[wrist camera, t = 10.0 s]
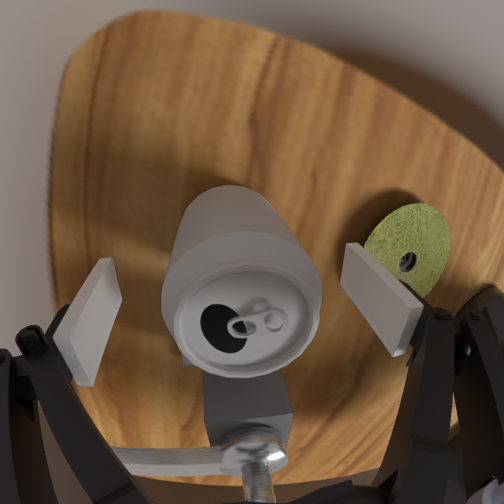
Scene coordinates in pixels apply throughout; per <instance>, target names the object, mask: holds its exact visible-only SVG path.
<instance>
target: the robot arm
mask: <svg viewBox="0 0 504 504" xmlns="http://www.w3.org/2000/svg"><path fill="white" fill-rule="evenodd" d="M340 285H341V286H342V288H343V289H344V290H345V292H346V293H347V294H348V296H349V297H350V298H351V300H352V301H353V303H354V304H355V305H356V307H357V308H358V309H359V311H360V312H361V313H362V315H363V316H364V318H365V319H366V320H367V322H368V323H369V324H370V326H371V327H372V329H373V330H374V331H375V333H376V334H377V336H378V337H379V338H380V340H381V341H382V343H383V344H384V345H385V347H386V348H387V350H388V351H389V353H390V354H391V356H392V357H395V356H399V355H402V354H405V353H406V351H407V349H408V346H409V344H410V345H411V346H412V347H413V351H412V354H411V356H410V358H409V360H408V362H407V364H406V366H408V365H409V368H408V373H407V377H406V382H405V386H404V391H403V395H402V399H401V403H400V407H399V410H398V414H397V418H396V421H395V425H394V428H393V431H392V434H391V438H390V441H389V444H388V447H387V450H386V453H385V455H384V458H383V461H382V464H381V466H380V469H379V471H378V473H377V475H376V477H375V478H374V480H373V481H372V483H371V485H370V486H364V485H363V486H362V485H353V484H352V481H351V480H348V481H345V482H341V483H338V484H335V485H331V486H327V487H323V488H320V489H318V490H316V491H314V492H311V493H309V494H307V495H305V496H303V497H301V498H299V499H296V500H294V501H292V502H289V503H284V504H504V293H503V292H502V291H501V290H500V289H498V288H497V287H489V288H487V289H485V290H483V291H481V292H480V293H478V294H477V295H476V296H475V297H474V298H472V299H471V300H470V301H469V302H468V303H467V304H466V305H465V307H464V308H463V309H462V310H461V311H460V312H459V314H458V315H457V316H456V317H452V315H451V314H450V312H448V311H447V310H445V309H443V308H438V307H434V308H432V307H431V306H430V305H429V304H428V303H427V302H426V301H425V300H424V299H423V298H422V297H421V296H420V295H418V293H417V292H416V291H415V290H413V288H412V287H411V286H409V285H408V284H407V283H405V282H403V281H402V280H400V279H399V280H397V279H396V278H395V277H394V276H393V275H392V274H391V273H390V272H389V271H388V270H387V269H386V268H385V267H384V266H383V265H382V264H380V263H379V262H378V261H377V260H376V259H375V258H374V257H373V256H372V255H371V254H370V253H368V252H367V251H366V250H365V249H364V248H363V247H362V246H361V245H360V244H358V243H346V248H345V255H344V261H343V268H342V274H341V280H340ZM121 302H122V296H121V292H120V288H119V284H118V280H117V276H116V271H115V267H114V263H113V258H112V257H111V258H100V259H99V261H98V262H97V264H96V265H95V267H94V268H93V270H92V271H91V273H90V274H89V276H88V277H87V279H86V281H85V282H84V284H83V285H82V287H81V289H80V290H79V292H78V293H77V295H76V297H75V298H74V300H73V302H72V303H71V304H66V305H65V306H63V307H62V308H61V309H60V310H59V311H58V313H57V314H56V316H55V319H53V321H52V323H51V324H50V326H49V328H48V330H47V331H46V333H45V335H44V333H43V331H42V329H41V328H40V327H39V326H37V325H30V326H27V327H25V328H23V329H22V330H20V332H19V333H18V334H17V336H16V339H15V341H16V344H17V346H18V347H19V349H20V351H21V353H22V355H21V356H16V357H12V355H11V354H10V352H9V351H8V350H7V349H0V504H58V501H57V498H56V494H55V491H54V487H53V484H52V480H51V477H50V472H49V468H48V464H47V460H46V455H45V450H44V445H43V440H42V433H41V427H40V420H39V412H38V403H37V400H39V402H40V405H41V407H42V410H43V412H44V415H45V417H46V419H47V422H48V424H49V426H50V428H51V430H52V433H53V435H54V437H55V439H56V441H57V443H58V445H59V447H60V449H61V451H62V452H63V454H64V456H65V458H66V460H67V462H68V463H69V465H70V467H71V469H72V470H73V472H74V474H75V476H76V477H77V479H78V480H79V482H80V484H81V485H82V487H83V488H84V490H85V491H86V493H87V494H88V496H89V497H90V499H91V501H92V502H93V504H157V503H156V502H155V501H154V500H153V499H152V497H151V496H150V495H149V494H148V493H147V492H146V491H145V490H144V489H143V488H142V486H141V485H140V484H139V483H138V482H137V481H136V479H135V478H134V477H133V476H132V475H131V473H130V472H129V471H128V470H127V468H126V467H125V466H124V465H123V463H122V462H121V461H120V460H119V458H118V457H117V456H116V454H115V453H114V452H113V450H112V449H111V447H110V446H109V445H108V443H107V442H106V440H105V439H104V437H103V436H102V435H101V433H100V432H99V430H98V429H97V427H96V426H95V424H94V422H93V421H92V419H91V418H90V416H89V415H88V413H87V411H86V410H85V408H84V406H83V405H82V403H81V401H80V399H79V398H78V396H77V394H76V392H75V391H74V389H73V387H72V385H71V384H70V383H71V380H72V377H73V378H74V379H75V381H76V383H77V385H79V386H90V387H93V385H94V382H95V378H96V375H97V372H98V368H99V365H100V362H101V359H102V356H103V353H104V350H105V347H106V344H107V341H108V338H109V335H110V332H111V329H112V327H113V324H114V321H115V318H116V316H117V313H118V310H119V308H120V305H121ZM453 393H454V398H455V404H456V409H457V416H458V421H457V422H456V423H455V424H454V425H452V426H451V427H450V420H451V411H452V400H453ZM223 504H281V503H263V502H251V501H247V502H236V503H223ZM282 504H283V503H282Z"/></svg>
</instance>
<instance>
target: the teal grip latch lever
mask: <svg viewBox="0 0 504 504" xmlns="http://www.w3.org/2000/svg"><path fill="white" fill-rule="evenodd" d="M110 447H111V449H112V450H113V452H114V453H115V454H116V456H117V457H118V458H119V460H120V461H121V462H122V463H123V465H124V466H125V467H126V468H127V470H128V471H129V472H130V473H131V474H132V475H147V476H204V475H219V474H226V475H229V476H233V477H242V480H243V487H244V493H245V498H246V502H247V501H251V502H263V503H276V499H275V494H274V490H273V485H272V480H271V475H270V474H271V473H273V472H276V471H278V470H280V469H282V468H283V467H285V466H286V465H287V463H288V461H289V460H288V456H287V452H286V448H285V444H284V440H283V436H282V434H281V433H280V432H279V431H277V430H275V429H272V428H266V427H250V428H243V429H239V430H235V431H232V432H230V433H227V434H225V435H224V436H222V437H221V438H220V439H219V441H218V446H212V447H198V448H171V449H152V448H126V447H112V446H110Z"/></svg>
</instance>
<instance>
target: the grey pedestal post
mask: <svg viewBox="0 0 504 504" xmlns="http://www.w3.org/2000/svg"><path fill="white" fill-rule="evenodd" d="M181 355H182V360H183V364H184V366H196V365H194V364H192V363H191V362H190V361H189V360H188V359H187V358H186V357H185V356H184V355H183V354H182V352H181ZM203 396H204V423H205V427H206V431H207V434H208V438H209V442H210V446H211V447H212V446H218V441H219V439H220V438H221V437H222V436H224V435H225V434H227V433H230V432H232V431H235V430H239V429H243V428H250V427H266V428H272V429H275V430H277V431H279V432H280V433H281V434H282V436H283V440H284V444H285V448H286V446H287V442H288V437H289V433H290V428H291V423H292V418H293V410H292V406H291V403H290V400H289V396H288V393H287V390H286V386H285V383H284V379H283V376H282V373H281V369H278V370H275V371H273V372H271V373H269V374H265V375H260V376H255V377H250V378H228V377H224V376H220V375H216V374H212V373H208V372H207V371H205V370H203Z"/></svg>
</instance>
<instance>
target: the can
mask: <svg viewBox="0 0 504 504" xmlns="http://www.w3.org/2000/svg"><path fill="white" fill-rule="evenodd" d="M321 304H322V282H321V279H320V277H319V275H318V272H317V270H316V268H315V265H314V263H313V261H312V260H311V258H310V257H309V256H308V254H307V253H306V251H305V250H304V249H303V247H302V246H301V244H300V243H299V242H298V240H297V239H296V238H295V236H294V235H293V233H292V232H291V231H290V229H289V228H288V227H287V225H286V224H285V223H284V221H283V220H282V219H281V217H280V216H279V215H278V213H277V212H276V211H275V209H274V208H273V207H272V205H271V204H270V203H269V202H268V201H267V200H266V199H265V198H264V197H263V196H262V195H261V194H259V193H257V192H255V191H253V190H251V189H249V188H247V187H244V186H235V185H224V186H219V187H214V188H211V189H209V190H207V191H206V192H204V193H202V194H200V195H198V196H197V197H196V198H195V199H194V200H193V201H192V203H191V204H190V205H189V206H188V207H187V208H186V210H185V213H184V215H183V217H182V220H181V222H180V225H179V228H178V232H177V235H176V239H175V242H174V246H173V249H172V253H171V257H170V260H169V264H168V268H167V272H166V275H165V279H164V283H163V287H162V291H161V313H162V316H163V318H164V321H165V323H166V326H167V328H168V331H169V333H170V334H171V335H172V336H173V337H174V339H175V342H176V344H177V346H178V349H179V350H180V351H181V352H182V354H183V355H184V356H185V357H186V358H187V359H188V360H189V361H190V362H191V363H192V364H194V365H196V366H198V367H199V368H201V369H203V370H205V371H207V372H208V373H212V374H216V375H220V376H224V377H228V378H250V377H255V376H260V375H265V374H269V373H271V372H273V371H275V370H278V369H280V368H282V367H284V366H286V365H288V364H289V363H290V362H292V361H293V360H294V359H296V358H297V357H298V356H299V355H301V354H302V353H303V352H304V350H305V349H306V348H307V346H308V345H309V344H310V342H311V341H312V340H313V338H314V336H315V333H316V330H317V327H318V324H319V310H320V307H321Z"/></svg>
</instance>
